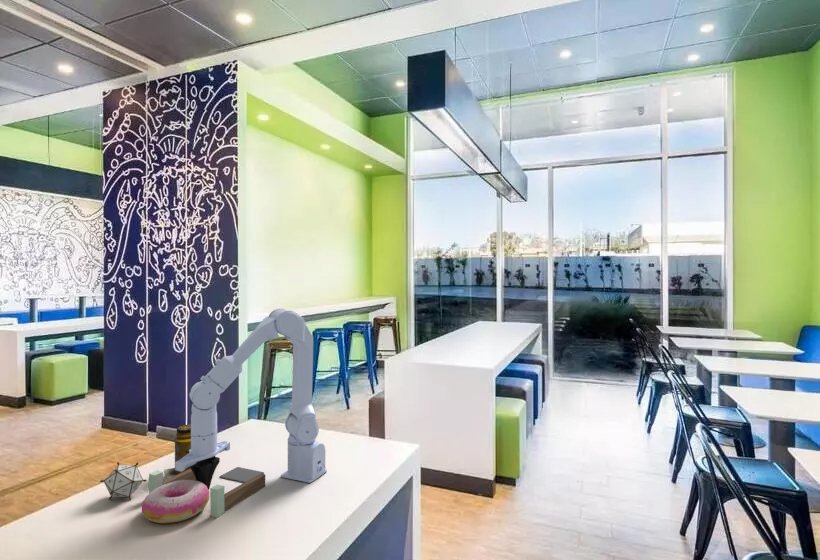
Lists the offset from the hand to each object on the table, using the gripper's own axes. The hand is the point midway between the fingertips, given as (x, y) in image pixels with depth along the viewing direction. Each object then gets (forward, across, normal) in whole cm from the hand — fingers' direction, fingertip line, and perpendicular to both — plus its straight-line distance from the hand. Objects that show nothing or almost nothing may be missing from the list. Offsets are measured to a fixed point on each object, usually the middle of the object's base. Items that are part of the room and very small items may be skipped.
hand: (204, 489), depth 109 cm
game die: (+2, +8, -17) cm, 19 cm away
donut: (+2, +8, 0) cm, 8 cm away
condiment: (+2, -8, -16) cm, 18 cm away
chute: (+1, -3, 0) cm, 3 cm away
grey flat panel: (+1, -12, 0) cm, 12 cm away
